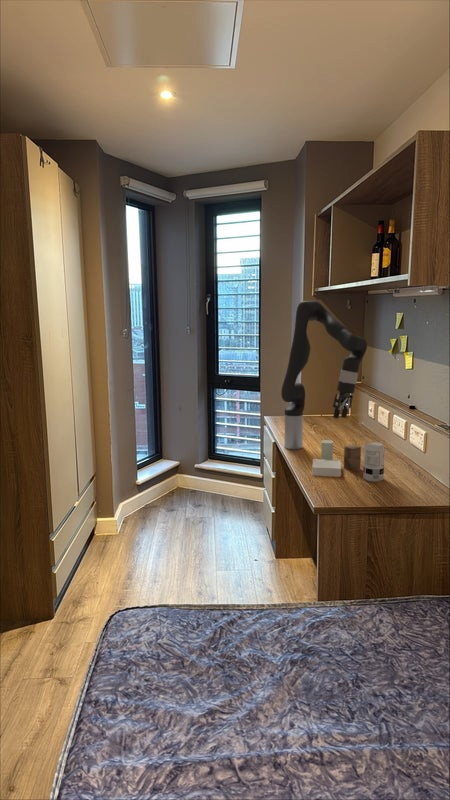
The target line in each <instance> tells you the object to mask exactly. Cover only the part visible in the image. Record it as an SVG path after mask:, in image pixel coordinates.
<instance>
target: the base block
mask: <svg viewBox="0 0 450 800" xmlns="http://www.w3.org/2000/svg"><path fill="white" fill-rule="evenodd" d="M311 467H312V470H311V473H312V476H314V477H315V476H317V477H319V476H320V477H338V478H339V477H340V478H341V476H342V461H341V459H333V460H323V459H316V458H313V459H312V465H311Z"/></svg>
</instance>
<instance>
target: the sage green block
mask: <svg viewBox="0 0 450 800" xmlns="http://www.w3.org/2000/svg"><path fill="white" fill-rule="evenodd" d="M333 447H334V441H333V440H329V439H327V440H326V439H325V440H323V439H322V440H321V450H320V451H321V457H320V458H321V459H323V460H334V459H333V457H334V456H333V452H334V450H333V449H334V448H333Z"/></svg>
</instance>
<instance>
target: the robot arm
mask: <svg viewBox="0 0 450 800" xmlns="http://www.w3.org/2000/svg"><path fill="white" fill-rule="evenodd" d="M310 321H316V322H318V323H321V324H322V325H323V326H324V328H325V330H326V332H327V333H328V335H329V336H330V337H332V338H333V339H334V340H336V341H337V342H338V343H339V344H340V346H342V348H343V349H345V350H346V351H348V352H350V354H349V356H347V357H345V358H344V359H343V362H342V367H341V370H340V374H339V378H338V383H337V387H336V391H338V392H339V393H335V396H334V401H333V403H332V408H333V409H334V411H333V412H334V413H333V418H334V419H339V417H340V416H341V418H344V419H346V418H347V416H348V412H349V410H350V409H351V408H352V403H353V399H354V395H353V394H355V392H356V391H355V390H356V387H357V381H358V376H359V375H358V374H359V370H360V365H361V362H362V360H363V359H364V356H365V354H366V352H367V348H368V341H367V339H365V337H362V336H359V335H355V334H353V333H352V331H351V330H350V329H349V328H348V327H347V326H346V325H344V324H343V323H341V322H340V321H338V319H336V318H335V317H334V316H333V315H332V314H331V313H330V312H329V311H328V310H327V309H326V308H325V307H324V306H323V305H322V304H321V303H320V302H319V301H316V300H303V301H301V302H300V303H298V305H297V308H296V311H295V321H294V322H295V324H294V330H293V331H294V332H293V338H292V343H291V347H290V348H291V349H290V352H289V357H288V358H289V359H288V364H287V368H286V373H285V375H284V376H285V377H284V380H283V383H282V386H281V393H280V395H281V399H282V401H284V402H285V403H290V405H289V406H287V407H286V408H285V409H284V448H285V449H287V450H300V448H301V449H303V444H304V442H303V440H304V439H303V438H304V437H303V436H304V434H303V433H304V423H303V422H304V411H305V405H306V404H305V400H306V390H305V387H304V385H303V384H302V383H301V382H297V379H298V376H299V375H300V374H301V372H302V370H304V368H305V367H306V366H307V364H308V362H309V358H310V353H311V343H310V340H309V337H308V334H307V330H308V325H309V322H310ZM341 408H342V411H341ZM340 414H341V415H340Z"/></svg>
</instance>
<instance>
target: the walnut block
mask: <svg viewBox="0 0 450 800" xmlns="http://www.w3.org/2000/svg"><path fill="white" fill-rule="evenodd" d="M343 448H344V450H343V453H344V454H343V469H346V470H348V471H350V472H354V471H358V470H359V471H360V470H361V459H362V458H361V455H362V447H361V446H357V445H355V444H349V445H344V447H343Z"/></svg>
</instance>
